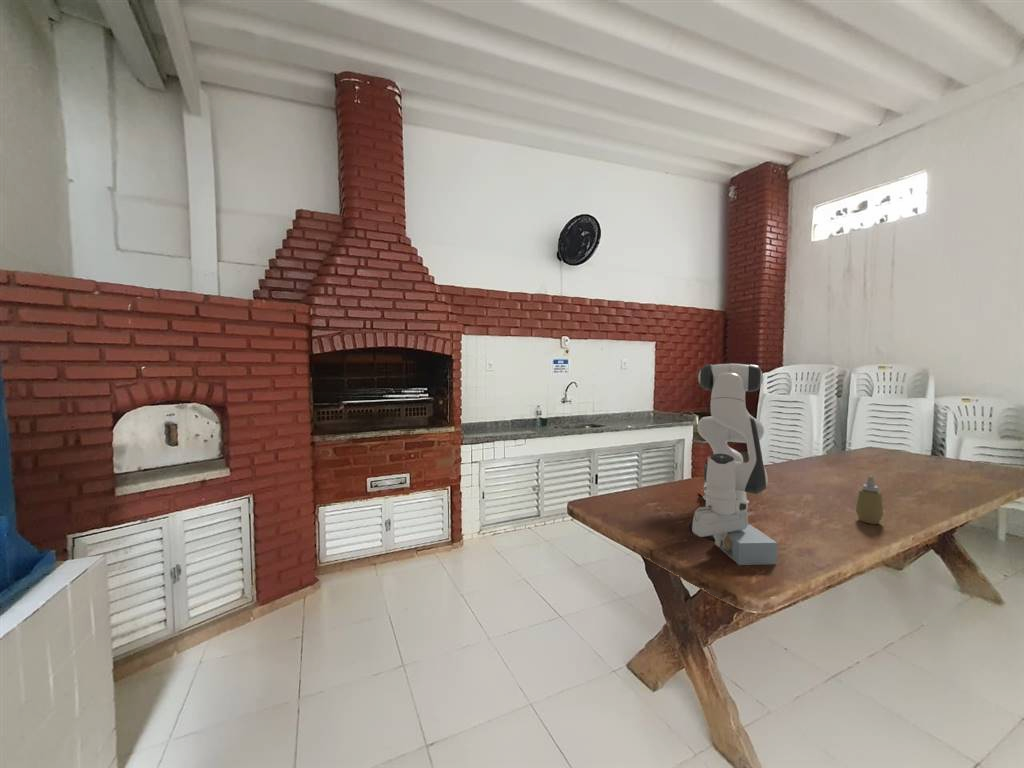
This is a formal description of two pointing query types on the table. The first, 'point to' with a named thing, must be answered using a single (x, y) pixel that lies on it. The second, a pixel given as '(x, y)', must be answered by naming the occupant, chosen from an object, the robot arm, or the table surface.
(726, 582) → the table surface
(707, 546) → the table surface
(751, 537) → the socket block
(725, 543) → the dowel peg
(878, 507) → the squeeze bottle
